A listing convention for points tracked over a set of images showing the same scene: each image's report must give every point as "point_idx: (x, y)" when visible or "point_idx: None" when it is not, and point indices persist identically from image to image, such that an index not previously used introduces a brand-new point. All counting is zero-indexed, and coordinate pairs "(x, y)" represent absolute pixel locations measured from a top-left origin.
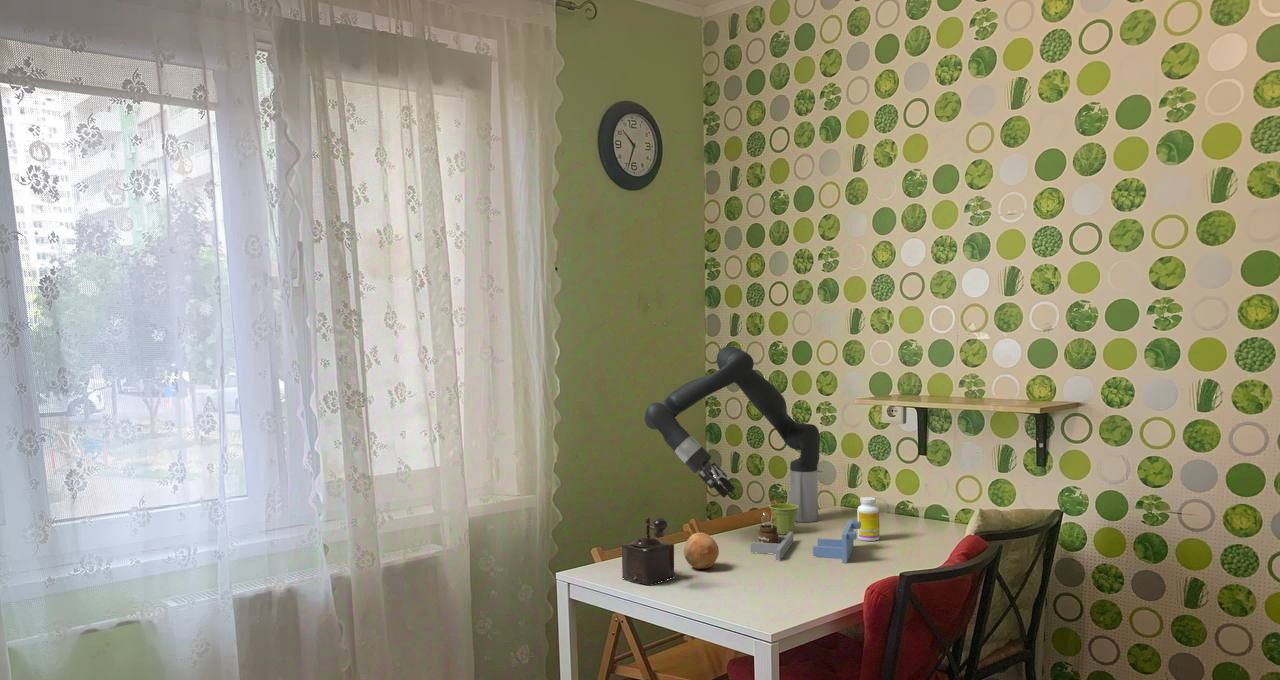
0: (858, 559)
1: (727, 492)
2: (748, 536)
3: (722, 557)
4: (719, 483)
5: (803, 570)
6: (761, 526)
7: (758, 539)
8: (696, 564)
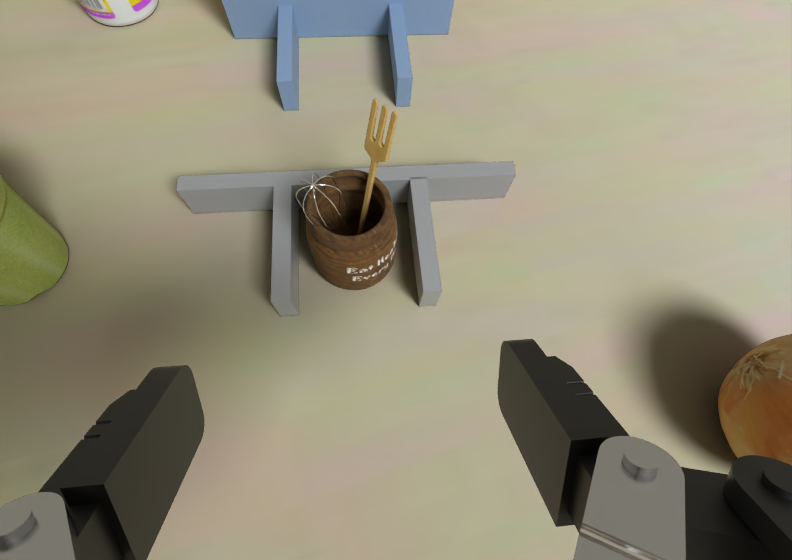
0: None
1: (533, 345)
2: None
3: None
4: (640, 440)
5: (577, 105)
6: (348, 236)
7: (293, 300)
8: None
